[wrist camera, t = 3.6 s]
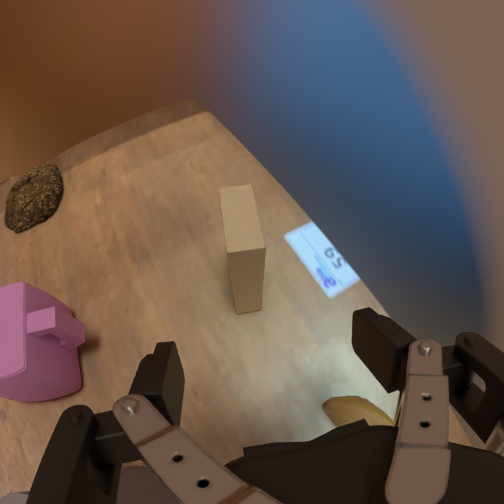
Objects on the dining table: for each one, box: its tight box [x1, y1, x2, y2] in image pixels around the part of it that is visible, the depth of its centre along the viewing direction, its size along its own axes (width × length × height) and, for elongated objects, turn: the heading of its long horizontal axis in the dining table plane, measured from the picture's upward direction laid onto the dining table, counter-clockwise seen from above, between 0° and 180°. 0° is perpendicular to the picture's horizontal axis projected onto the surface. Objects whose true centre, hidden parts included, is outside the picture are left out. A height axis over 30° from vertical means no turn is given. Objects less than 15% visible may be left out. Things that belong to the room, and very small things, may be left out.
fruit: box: [323, 396, 394, 427], centre depth 17 cm, size 7×15×3 cm, turn 6°
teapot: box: [0, 282, 85, 402], centre depth 19 cm, size 18×10×10 cm, turn 110°
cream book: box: [219, 184, 266, 314], centre depth 23 cm, size 2×6×11 cm, turn 10°
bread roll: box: [4, 164, 62, 232], centre depth 33 cm, size 13×12×5 cm
